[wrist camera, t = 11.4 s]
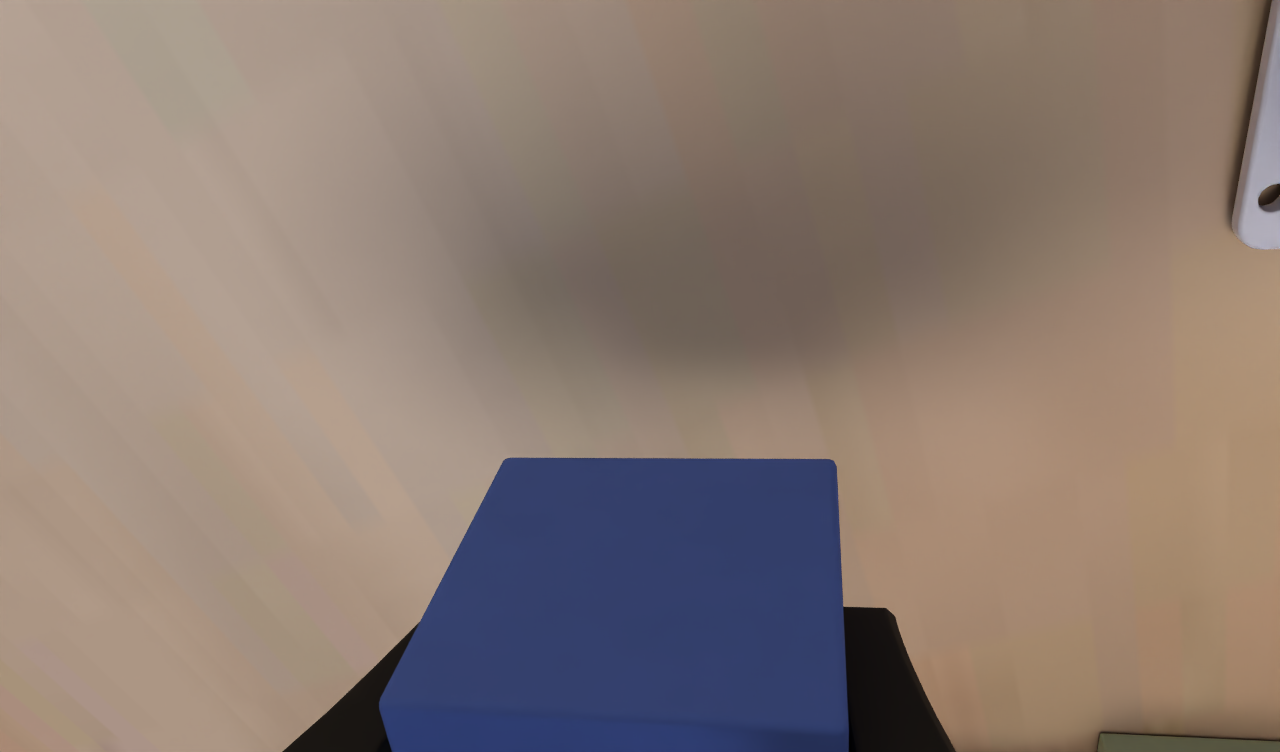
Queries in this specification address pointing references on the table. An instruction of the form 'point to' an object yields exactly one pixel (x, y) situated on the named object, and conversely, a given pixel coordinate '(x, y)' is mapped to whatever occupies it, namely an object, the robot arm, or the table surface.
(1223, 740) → the drawer cabinet
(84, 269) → the table surface
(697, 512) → the blue rounded cube
